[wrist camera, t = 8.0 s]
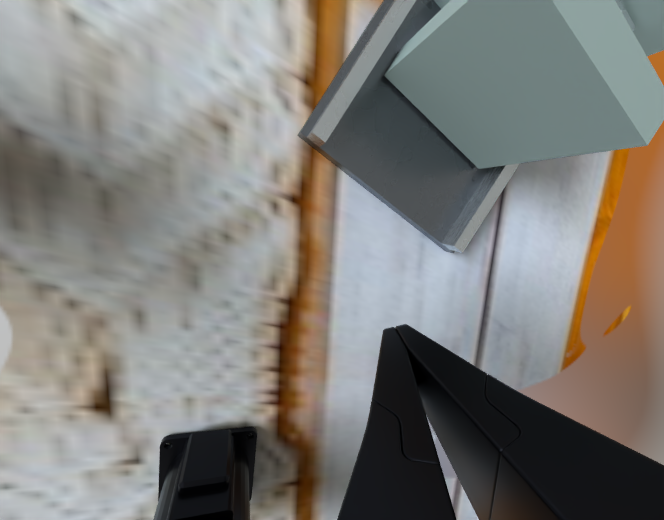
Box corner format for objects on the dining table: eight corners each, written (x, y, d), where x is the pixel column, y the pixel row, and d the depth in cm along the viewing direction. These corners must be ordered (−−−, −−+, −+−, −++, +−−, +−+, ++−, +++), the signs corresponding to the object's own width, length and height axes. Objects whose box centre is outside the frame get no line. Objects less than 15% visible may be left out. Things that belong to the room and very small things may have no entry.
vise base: (445, 251, 25) (466, 256, 22) (297, 135, 19) (305, 126, 17) (547, 91, 25) (580, 79, 22) (426, -68, 19) (452, -105, 17)
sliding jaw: (478, 168, 23) (647, 145, 13) (384, 75, 19) (520, -47, 10) (496, 141, 23) (677, 98, 13) (404, 43, 19) (561, -111, 10)
